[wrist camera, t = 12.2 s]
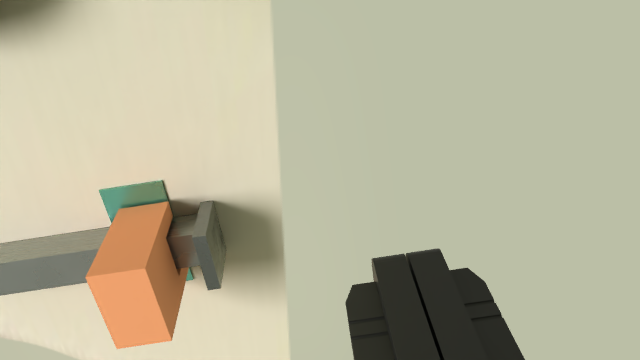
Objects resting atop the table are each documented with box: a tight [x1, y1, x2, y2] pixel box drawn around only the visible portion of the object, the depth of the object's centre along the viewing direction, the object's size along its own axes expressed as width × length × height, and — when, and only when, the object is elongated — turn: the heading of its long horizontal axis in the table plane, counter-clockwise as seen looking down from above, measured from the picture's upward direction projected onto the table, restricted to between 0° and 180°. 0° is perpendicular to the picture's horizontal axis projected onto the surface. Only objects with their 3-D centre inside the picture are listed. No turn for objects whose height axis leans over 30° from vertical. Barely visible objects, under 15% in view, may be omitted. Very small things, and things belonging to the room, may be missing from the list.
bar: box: [0, 180, 226, 295], centre depth 43 cm, size 20×10×5 cm, turn 98°
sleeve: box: [85, 202, 189, 349], centre depth 41 cm, size 4×7×9 cm, turn 8°
